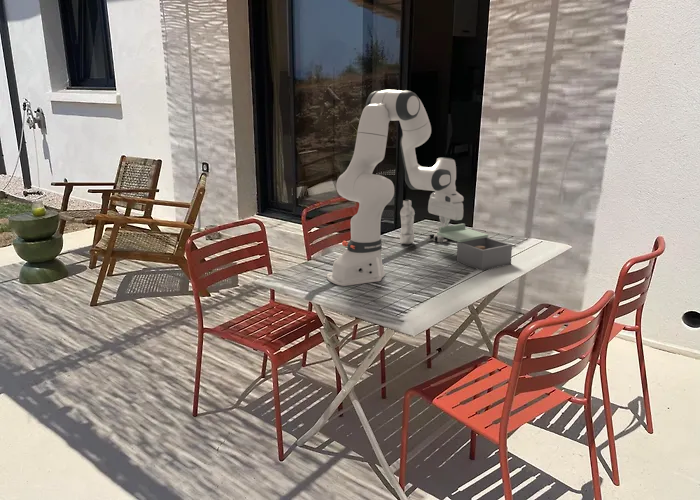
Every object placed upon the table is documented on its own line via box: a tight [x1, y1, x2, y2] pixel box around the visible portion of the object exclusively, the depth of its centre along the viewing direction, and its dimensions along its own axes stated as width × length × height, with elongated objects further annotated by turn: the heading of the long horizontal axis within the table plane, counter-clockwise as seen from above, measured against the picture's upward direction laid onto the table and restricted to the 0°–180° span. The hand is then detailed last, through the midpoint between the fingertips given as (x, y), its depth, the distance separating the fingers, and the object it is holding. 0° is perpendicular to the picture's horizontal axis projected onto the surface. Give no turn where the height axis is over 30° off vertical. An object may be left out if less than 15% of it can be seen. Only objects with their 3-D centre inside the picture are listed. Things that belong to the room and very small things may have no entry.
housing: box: [456, 236, 513, 272], centre depth 224 cm, size 15×15×8 cm
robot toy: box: [426, 229, 449, 243], centre depth 259 cm, size 12×4×15 cm
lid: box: [436, 222, 489, 243], centre depth 233 cm, size 15×15×3 cm
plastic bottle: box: [399, 199, 416, 245], centre depth 252 cm, size 6×7×20 cm
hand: (444, 226), depth 243 cm, fingers closed
